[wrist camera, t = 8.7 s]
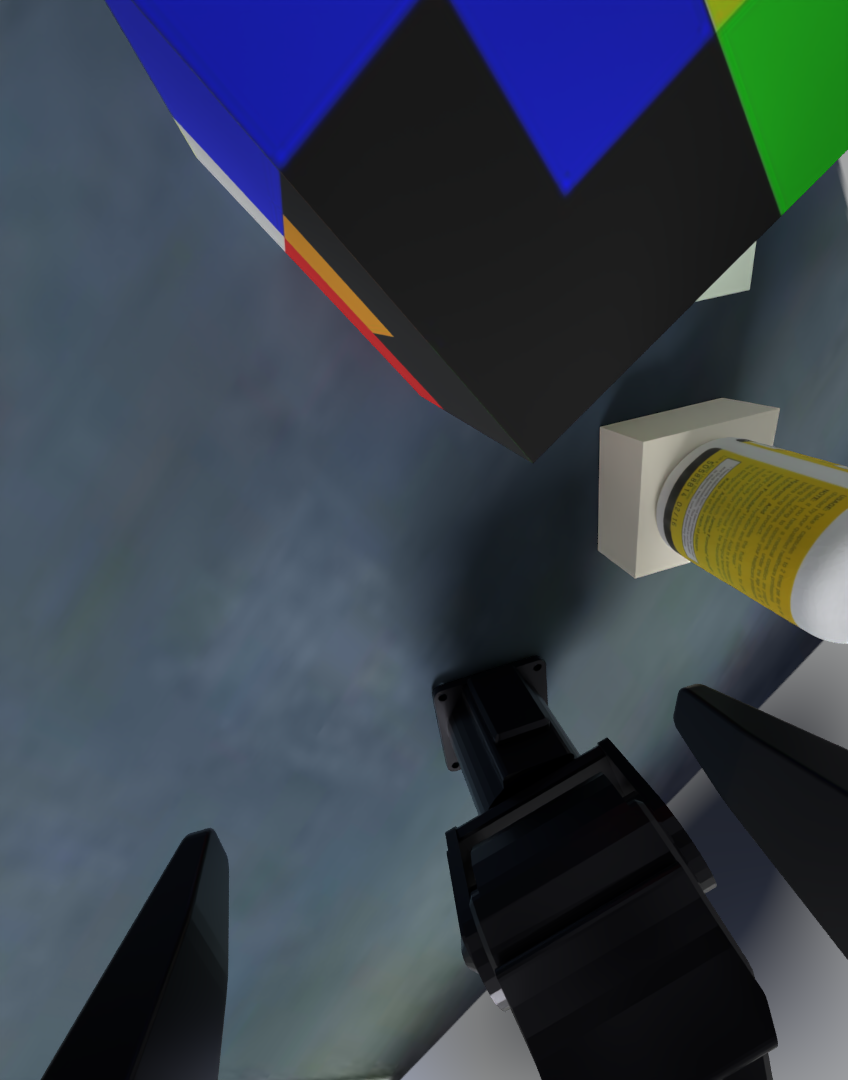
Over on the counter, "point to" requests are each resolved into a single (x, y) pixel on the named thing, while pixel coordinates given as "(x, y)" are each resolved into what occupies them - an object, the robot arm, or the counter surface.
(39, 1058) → the counter surface
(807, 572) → the supplement bottle
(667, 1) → the puzzle toy
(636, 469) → the base brick
